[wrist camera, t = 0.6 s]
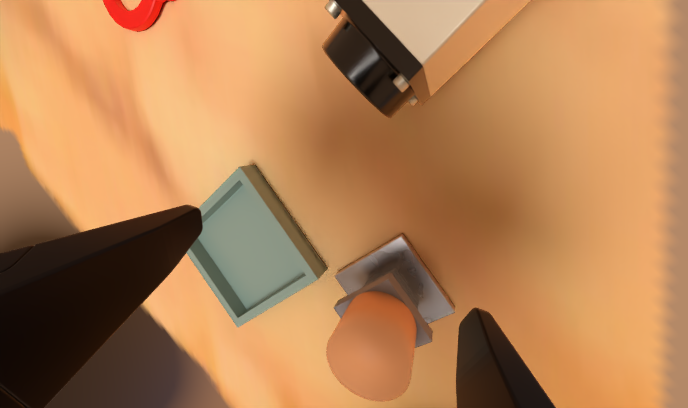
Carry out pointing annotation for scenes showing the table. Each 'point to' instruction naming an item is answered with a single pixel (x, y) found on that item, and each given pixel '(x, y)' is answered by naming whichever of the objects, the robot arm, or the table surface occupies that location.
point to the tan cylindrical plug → (376, 340)
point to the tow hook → (134, 13)
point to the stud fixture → (399, 277)
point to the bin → (252, 247)
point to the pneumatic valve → (410, 44)
